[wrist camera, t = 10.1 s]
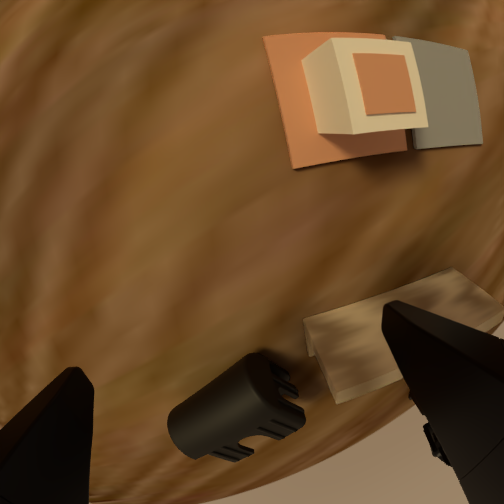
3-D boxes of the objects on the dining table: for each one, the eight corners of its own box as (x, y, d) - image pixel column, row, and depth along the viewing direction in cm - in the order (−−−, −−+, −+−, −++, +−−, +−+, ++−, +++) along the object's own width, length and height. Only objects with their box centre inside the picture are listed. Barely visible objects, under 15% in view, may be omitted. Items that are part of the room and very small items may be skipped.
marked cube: (367, 55, 15) (411, 39, 10) (382, 125, 17) (430, 127, 12) (300, 58, 15) (331, 34, 10) (317, 133, 17) (354, 134, 12)
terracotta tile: (381, 36, 14) (384, 34, 14) (404, 149, 18) (407, 150, 18) (262, 38, 14) (263, 36, 14) (291, 168, 18) (293, 168, 17)
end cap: (240, 334, 23) (250, 398, 16) (295, 370, 25) (314, 427, 19) (168, 391, 24) (163, 449, 18) (223, 418, 27) (228, 470, 21)
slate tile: (464, 50, 15) (467, 50, 14) (479, 143, 18) (482, 143, 18) (392, 37, 14) (395, 36, 14) (413, 148, 18) (417, 149, 18)
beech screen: (451, 266, 23) (505, 308, 16) (446, 299, 25) (493, 343, 17) (302, 318, 23) (336, 392, 15) (307, 352, 24) (336, 423, 17)
